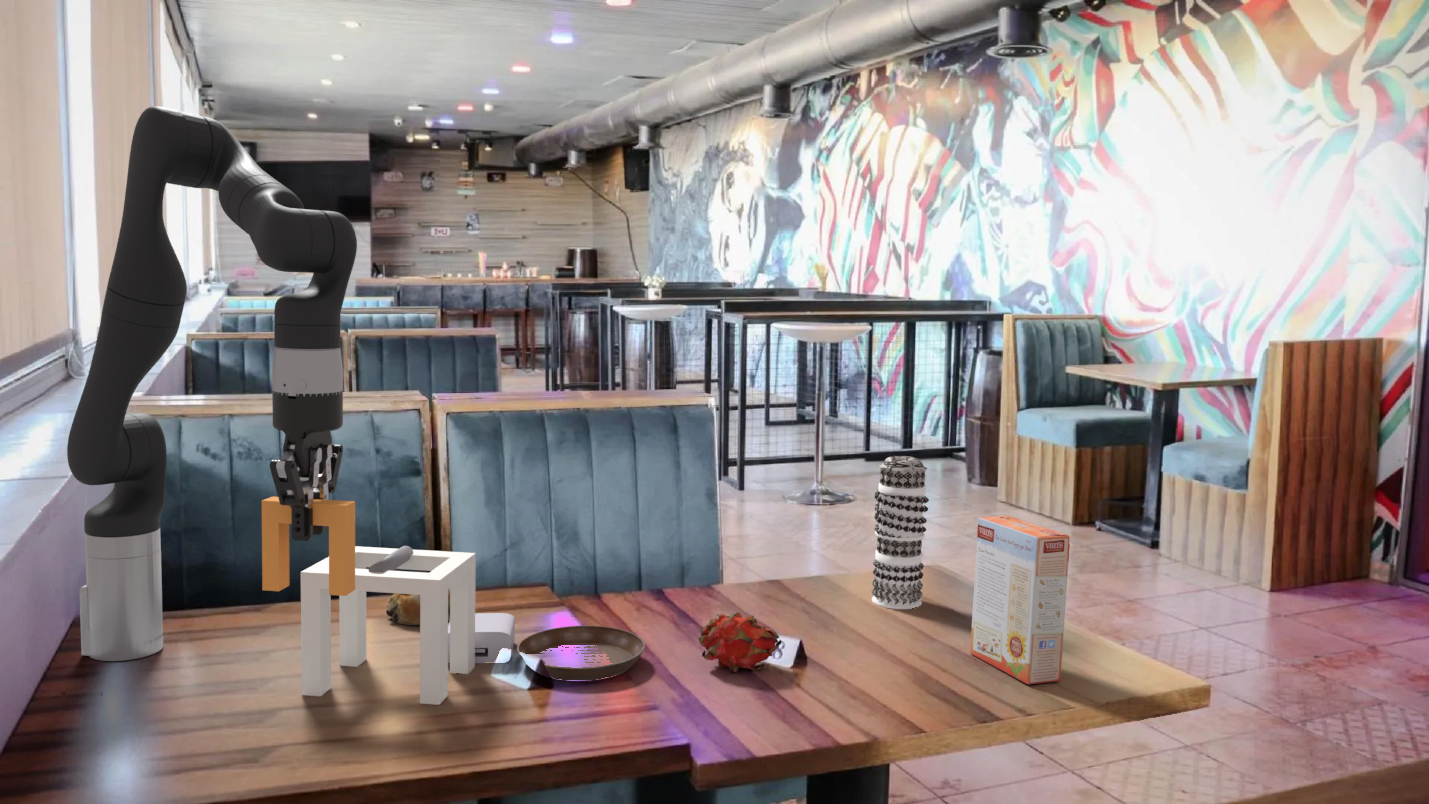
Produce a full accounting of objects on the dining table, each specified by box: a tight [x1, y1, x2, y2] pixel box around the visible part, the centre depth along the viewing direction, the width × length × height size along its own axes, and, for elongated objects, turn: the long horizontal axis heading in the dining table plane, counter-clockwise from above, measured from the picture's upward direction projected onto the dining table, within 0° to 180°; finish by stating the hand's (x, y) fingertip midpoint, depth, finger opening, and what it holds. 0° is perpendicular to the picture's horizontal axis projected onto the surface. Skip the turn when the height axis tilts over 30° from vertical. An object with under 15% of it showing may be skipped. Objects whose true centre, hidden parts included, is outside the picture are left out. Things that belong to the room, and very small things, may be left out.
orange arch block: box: [261, 496, 356, 596], centre depth 128 cm, size 10×2×10 cm, turn 84°
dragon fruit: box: [698, 612, 782, 673], centre depth 156 cm, size 8×8×12 cm
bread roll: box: [385, 588, 450, 626], centre depth 174 cm, size 10×10×8 cm
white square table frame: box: [300, 545, 477, 706], centre depth 146 cm, size 18×14×17 cm
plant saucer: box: [516, 625, 646, 680], centre depth 155 cm, size 18×18×3 cm
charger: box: [448, 612, 516, 663], centre depth 161 cm, size 5×9×15 cm
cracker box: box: [969, 515, 1071, 685], centre depth 158 cm, size 14×6×21 cm, turn 21°
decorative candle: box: [871, 455, 930, 610], centre depth 189 cm, size 9×9×25 cm
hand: (308, 536), depth 128 cm, fingers closed on orange arch block, 2 cm apart
